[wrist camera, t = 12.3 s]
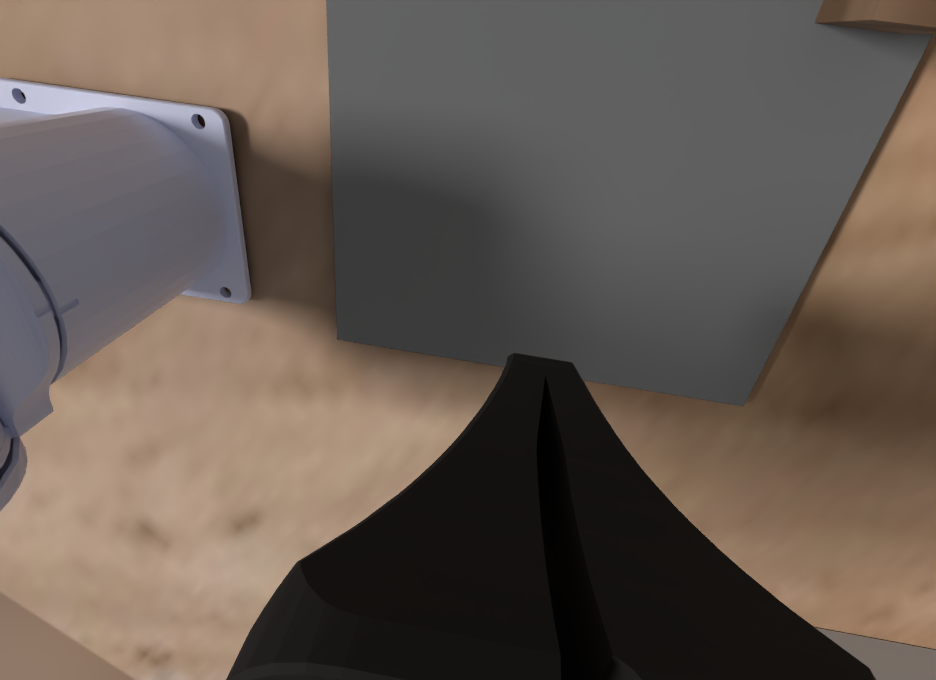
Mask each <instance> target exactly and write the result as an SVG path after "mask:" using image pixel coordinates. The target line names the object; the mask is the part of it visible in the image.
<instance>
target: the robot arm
mask: <svg viewBox="0 0 936 680" xmlns="http://www.w3.org/2000/svg"><path fill="white" fill-rule="evenodd" d="M21 91H22V92H23V93H24V95H25V97H26V100H25V99H24V98H23V96H22V94H21ZM198 115H201V116H202V117H203V118H204V121H205V127H203V126H201V125H200V124H199V122H198ZM225 287H226V288H228V289H229V290H230V291H231V294H230V293H228V292H227V291H226V290H225ZM179 294H181V295H187V296H193V297H199V298H206V299H212V300H218V301H224V302H230V303H236V304H243V303H245V302H247V301H248V300H249V299H250V297H251V285H250V278H249V270H248V262H247V255H246V247H245V239H244V231H243V224H242V216H241V208H240V201H239V193H238V185H237V178H236V170H235V162H234V155H233V147H232V139H231V131H230V124H229V121H228V118H227V116H226V115H225V113H224V112H222V111H221V110H220V109H217V108H214V107H207V106H200V105H193V104H186V103H179V102H172V101H165V100H158V99H151V98H144V97H137V96H129V95H122V94H115V93H108V92H101V91H94V90H87V89H80V88H73V87H66V86H59V85H52V84H44V83H37V82H30V81H23V80H16V79H9V78H2V77H0V511H1V510H2V509H3V508H4V507H5V505H6V504H7V503H8V502H9V501H10V499H11V498H12V497H13V495H14V494H15V492H16V491H17V489H18V488H19V486H20V484H21V482H22V480H23V477H24V475H25V473H26V467H27V454H26V448H25V446H24V444H23V442H22V441H21V439H20V436H21V435H23V434H24V433H25V432H27V431H28V430H29V429H31V428H32V427H33V426H35V425H36V424H37V423H39V422H40V421H41V420H43V419H44V418H45V417H46V416H48V415H49V414H50V413H52V412H53V406H52V404H51V401H50V397H49V387H50V385H51V384H53V383H54V382H56V381H57V380H58V379H60V378H61V377H63V376H64V375H66V374H67V373H68V372H70V371H71V370H73V369H74V368H76V367H77V366H78V365H80V364H81V363H83V362H84V361H85V360H87V359H88V358H90V357H91V356H93V355H94V354H95V353H97V352H98V351H100V350H101V349H103V348H104V347H105V346H107V345H108V344H110V343H111V342H113V341H114V340H115V339H117V338H118V337H120V336H121V335H122V334H124V333H125V332H127V331H128V330H130V329H131V328H132V327H134V326H135V325H137V324H138V323H140V322H141V321H142V320H144V319H145V318H147V317H148V316H149V315H151V314H152V313H154V312H155V311H157V310H158V309H159V308H161V307H162V306H164V305H165V304H167V303H168V302H169V301H171V300H172V299H174V298H175V297H177V296H178V295H179ZM226 680H876V678H875V677H874V675H873V674H872V672H871V670H870V668H869V667H867V666H866V665H865V664H863V663H862V662H861V661H859V660H858V659H857V658H855V657H854V656H853V655H851V654H850V653H849V652H847V651H846V650H844V649H843V648H842V647H840V646H839V645H838V644H836V643H835V642H834V641H832V640H831V639H830V638H828V637H827V636H826V635H824V634H823V633H821V632H820V631H819V630H817V629H816V628H815V627H813V626H812V625H811V624H809V623H808V622H807V621H805V620H804V619H803V618H801V617H800V616H798V615H797V614H796V613H794V612H793V611H792V610H790V609H789V608H788V607H787V606H785V605H784V604H783V603H782V602H780V601H779V600H778V599H777V598H775V597H774V596H773V595H772V594H771V593H769V592H768V591H767V590H766V589H765V588H763V587H762V586H761V585H760V584H759V583H757V582H756V581H755V580H754V579H752V578H751V577H750V576H749V575H748V574H746V573H745V572H744V571H743V570H742V569H741V568H739V567H738V566H737V565H736V564H735V563H734V562H733V561H732V560H730V559H729V558H728V557H727V556H726V555H725V554H724V553H722V552H721V551H720V550H719V549H718V548H717V547H716V546H715V545H714V544H713V543H712V542H711V541H710V540H709V539H708V538H707V537H705V536H704V535H703V534H702V533H701V532H700V531H699V530H698V529H697V528H696V527H695V526H694V525H693V524H692V523H691V522H690V521H689V520H688V519H687V518H686V517H685V516H684V515H683V514H682V513H681V512H680V511H679V510H678V509H677V508H676V507H675V506H674V505H673V504H672V503H671V502H670V500H669V499H668V498H667V497H666V496H665V495H664V494H663V493H662V492H661V490H660V489H659V488H658V487H657V486H656V485H655V484H654V483H653V481H652V480H651V479H650V478H649V477H648V476H647V475H646V473H645V472H644V471H643V470H642V469H641V467H640V466H639V465H638V464H637V462H636V461H635V460H634V458H633V457H632V456H631V454H630V453H629V452H628V450H627V449H626V448H625V446H624V445H623V443H622V442H621V441H620V439H619V438H618V436H617V435H616V433H615V432H614V430H613V429H612V427H611V426H610V424H609V423H608V421H607V420H606V418H605V417H604V415H603V414H602V412H601V411H600V409H599V407H598V406H597V404H596V402H595V401H594V399H593V397H592V396H591V394H590V392H589V391H588V389H587V387H586V385H585V384H584V382H583V380H582V378H581V376H580V374H579V373H578V371H577V369H576V367H575V366H574V364H573V363H572V362H567V361H561V360H555V359H549V358H543V357H537V356H531V355H524V354H518V353H513V354H511V355H509V356H508V357H507V362H506V365H505V368H504V371H503V373H502V375H501V377H500V379H499V380H498V382H497V384H496V386H495V388H494V389H493V391H492V392H491V394H490V395H489V397H488V399H487V400H486V402H485V403H484V405H483V406H482V408H481V409H480V410H479V412H478V413H477V414H476V416H475V417H474V418H473V419H472V421H471V422H470V423H469V424H468V426H467V427H466V428H465V430H464V431H463V432H462V433H461V434H460V436H459V437H458V438H457V439H456V440H455V441H454V442H453V443H452V445H451V446H450V447H449V448H448V449H447V450H446V451H445V452H444V453H443V454H442V455H441V456H440V457H439V458H438V459H437V460H436V461H435V462H434V463H433V464H432V465H431V466H430V467H429V468H428V469H427V470H425V471H424V472H423V473H422V474H421V475H420V476H419V477H418V478H417V479H416V480H414V481H413V482H412V483H411V484H410V485H409V486H407V487H406V488H405V489H404V490H403V491H401V492H400V493H399V494H398V495H396V496H395V497H394V498H392V499H391V500H390V501H388V502H387V503H386V504H384V505H383V506H382V507H380V508H379V509H378V510H376V511H375V512H374V513H372V514H371V515H370V516H368V517H367V518H366V519H364V520H363V521H362V522H360V523H359V524H357V525H356V526H354V527H353V528H351V529H350V530H348V531H347V532H345V533H343V534H342V535H340V536H338V537H337V538H335V539H334V540H332V541H330V542H329V543H327V544H326V545H324V546H322V547H321V548H319V549H318V550H316V551H314V552H313V553H311V554H309V555H308V556H306V557H304V558H303V559H301V560H299V561H298V562H297V563H296V564H295V565H294V567H293V568H292V569H291V571H290V572H289V573H288V575H287V576H286V577H285V579H284V580H283V581H282V583H281V584H280V585H279V587H278V588H277V590H276V591H275V593H274V594H273V596H272V597H271V599H270V600H269V602H268V603H267V605H266V606H265V608H264V609H263V611H262V612H261V614H260V616H259V617H258V619H257V620H256V622H255V624H254V625H253V627H252V629H251V630H250V632H249V634H248V636H247V638H246V640H245V642H244V644H243V646H242V648H241V650H240V652H239V654H238V656H237V659H236V661H235V663H234V665H233V667H232V669H231V671H230V673H229V675H228V677H227V679H226Z"/></svg>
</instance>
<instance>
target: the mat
mask: <svg viewBox="0 0 936 680" xmlns="http://www.w3.org/2000/svg"><path fill="white" fill-rule="evenodd" d="M822 3H823V0H326V6H327V37H328V68H329V99H330V131H331V162H332V193H333V225H334V256H335V287H336V318H337V340H343V341H349V342H355V343H361V344H367V345H373V346H379V347H385V348H391V349H397V350H403V351H410V352H416V353H422V354H428V355H434V356H440V357H446V358H452V359H458V360H464V361H470V362H476V363H483V364H489V365H495V366H501V367H505V365H506V362H507V357H508V356H509V355H511V354H513V353H518V354H524V355H531V356H537V357H543V358H549V359H555V360H561V361H567V362H572V363H573V364H574V366H575V367H576V369H577V371H578V373H579V374H580V376H581V378H582V380H586V381H592V382H598V383H604V384H610V385H616V386H623V387H629V388H635V389H641V390H647V391H653V392H659V393H665V394H671V395H677V396H683V397H690V398H696V399H702V400H708V401H714V402H720V403H726V404H732V405H738V406H744V404H745V402H746V400H747V398H748V396H749V395H750V393H751V391H752V389H753V387H754V385H755V383H756V381H757V379H758V377H759V375H760V373H761V371H762V369H763V367H764V365H765V363H766V361H767V359H768V357H769V355H770V353H771V351H772V349H773V347H774V345H775V343H776V342H777V340H778V338H779V336H780V334H781V332H782V330H783V328H784V326H785V324H786V322H787V320H788V318H789V316H790V314H791V312H792V310H793V308H794V306H795V304H796V302H797V300H798V298H799V296H800V294H801V292H802V291H803V289H804V287H805V285H806V283H807V281H808V279H809V277H810V275H811V273H812V271H813V269H814V267H815V265H816V263H817V261H818V259H819V257H820V255H821V253H822V251H823V249H824V247H825V245H826V243H827V241H828V240H829V238H830V236H831V234H832V232H833V230H834V228H835V226H836V224H837V222H838V220H839V218H840V216H841V214H842V212H843V210H844V208H845V206H846V204H847V202H848V200H849V198H850V196H851V194H852V192H853V190H854V188H855V187H856V185H857V183H858V181H859V179H860V177H861V175H862V173H863V171H864V169H865V167H866V165H867V163H868V161H869V159H870V157H871V155H872V153H873V151H874V149H875V147H876V145H877V143H878V141H879V139H880V137H881V136H882V134H883V132H884V130H885V128H886V126H887V124H888V122H889V120H890V118H891V116H892V114H893V112H894V110H895V108H896V106H897V104H898V102H899V100H900V98H901V96H902V94H903V92H904V90H905V88H906V86H907V84H908V83H909V81H910V79H911V77H912V75H913V73H914V71H915V69H916V67H917V65H918V63H919V61H920V59H921V57H922V55H923V53H924V51H925V49H926V47H927V45H928V43H929V41H930V39H931V37H932V35H933V34H900V33H892V32H884V31H876V30H868V29H860V28H852V27H844V26H836V25H828V24H819V23H815V20H816V18H817V15H818V13H819V10H820V8H821V5H822Z"/></svg>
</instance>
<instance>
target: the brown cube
mask: <svg viewBox="0 0 936 680" xmlns="http://www.w3.org/2000/svg"><path fill="white" fill-rule="evenodd" d="M815 23H819V24H828V25H836V26H844V27H852V28H860V29H868V30H876V31H884V32H892V33H900V34H936V0H823V3H822V5H821V8H820V10H819V13H818V15H817V18H816V20H815Z"/></svg>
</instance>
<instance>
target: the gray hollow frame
mask: <svg viewBox="0 0 936 680" xmlns="http://www.w3.org/2000/svg"><path fill="white" fill-rule="evenodd" d="M816 629H817V630H819V631H820V632H821V633H823V634H824V635H826V636H827V637H828V638H830V639H831V640H832V641H834V642H835V643H836V644H838V645H839V646H840V647H842V648H843V649H844V650H846V651H847V652H849V653H850V654H851V655H853V656H854V657H855V658H857V659H858V660H859V661H861V662H862V663H863V664H865V665H866V666H867V667H869V668H870V670H871V672H872V674H873V675H874V677H875V678H876V680H936V650H933V649H928V648H922V647H917V646H912V645H906V644H901V643H895V642H890V641H885V640H879V639H874V638H869V637H863V636H858V635H852V634H847V633H842V632H836V631H831V630H825V629H820V628H816Z"/></svg>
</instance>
